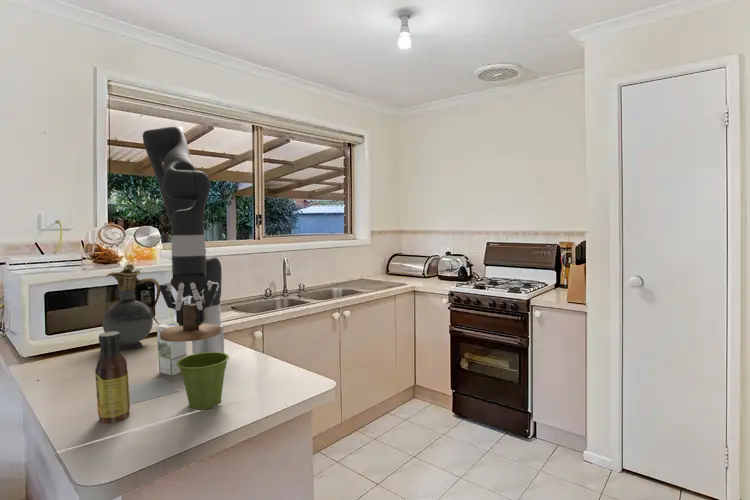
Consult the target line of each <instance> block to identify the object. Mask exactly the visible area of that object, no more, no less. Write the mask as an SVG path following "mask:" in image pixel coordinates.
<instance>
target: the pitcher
mask: <svg viewBox="0 0 750 500" xmlns="http://www.w3.org/2000/svg"><path fill="white" fill-rule="evenodd" d="M135 268H136V267H135V265H134V264H130V263H129V264H127V265H125V266H123V267H121V269H123V270H121V271H118V272H116V271H115V272H109V273H108V274H106V275H105V277H109V276H110V277H113V278H114V279H115V280H116V281H117V289H118V296H119V301H118V302H116V303H114V304H112V305H111V306H110V307H108V309H107V310H106V312H105V313H104V316H103V319H102V328H103V333H106V332H112V331H117V332H120V339H119V343H120V351H128V350H134V349H139V348H140V347H142V346H143V343H142V342H141V341H143V340H144V339H146V338H147V337H148V336H149V334H150V333H151V331H152V329H153V323H154V321H155V322H156V324H158V325H157V326H160V324H159V322H158V319H156V317H155V315H154V311H155V307H156V305H157V303H158V302H159V301H158V300H159V298H160V295H161V290H160V288H159V286H160V285H161V284H160V282H159V281H158V279H156V278H154V277H145V278H142V279H139V278H137V276H138V275H139V274H140V273H141V271H142V268H141V269H135ZM134 269H135V270H134ZM145 283H153V284H155V286H156V298H155V300H154V302H153V304H152V306H151V309H150V308H149V307H148V306H147V305H146V304H145V303H144V302H142V301H139V300H136V291H135V290H136V288H137V287H138V286H139V285H144V284H145Z"/></svg>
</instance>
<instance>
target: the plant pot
mask: <svg viewBox="0 0 750 500" xmlns="http://www.w3.org/2000/svg"><path fill="white" fill-rule="evenodd" d="M229 359H230V355H229V354H227V353H225V352H224V353H221V352H205V353H197V354H193V353H192V354H189V355H187V356H186V357H183V358H181V359H180V360H178V361H177V366H178V367H179V368H180V375H181V376H182V379H183V384H184V388H185V392H186V393H185V394H186V398H187V401H188V406H189V407H190V408H192V409H196V410H198V411H201V410H208V409H211V408H213V407H215V406H218V405H219V404H220V403H221V402H222V395H223V389H224V388H223V387H224V379H225V371H226V367H227V361H228V360H229Z"/></svg>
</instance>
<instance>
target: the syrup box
mask: <svg viewBox="0 0 750 500" xmlns="http://www.w3.org/2000/svg"><path fill="white" fill-rule="evenodd" d="M175 326H179V324H177V322H167V323H163V324H159V325H157V326H156V331H157V332H156V334H157V351H158V369H159V370H158V371H159V373H160V374H162V375H163V374H165V375H169V376H174V375H177V374H181V372H180V368H179V367H178V366H177V361H178V360H180V359H181V358H183V357H186V356H188V353H187V351H188V350H187V341H184V342H171V341H164V340H161V339H160V332H161V331H162V330H164V329H167V328H170V327H175Z"/></svg>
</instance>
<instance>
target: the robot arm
mask: <svg viewBox="0 0 750 500" xmlns="http://www.w3.org/2000/svg"><path fill="white" fill-rule="evenodd" d="M142 141H143V145H144V149H145V151H146V154H147V157H148V159H149V162H150V164H151V167H152V170H153V172H154V174H155V178H156V181H157V183H158V186H159V189H160V193H161V196H162V200H163V204H164V208H165V211H166V214H167V217H168V220H169V224H170V226H171V230H172V231H171V234H172V236H171V245H170V246H171V268H172V272H171V273H172V278H171V280H170V282H167V283H163V284H160V286H159V288H160V294H161V295H162V297H163V300H164V302H165V304H166V306H167V308H168V309H173V310H175V313H176V314H175V316H176V323H177V324H179V326H183V316H182V305H185V304H186V300H187V299H188V298H187V297H188V296H189V297H190V304H197V308H198V310H197V325H202V324H216V325H219V326H220V327H221V333H220V334H219V335H217V336H214V337H211V338H207V339H202V340H195V341H191V346H192V347H191V348H192V351H191V352H192V355H193V354H197V353H205V352H221V353H225V338H224V337H225V336H224V325H222V321H221V320H222V319H221V318H222V317H221V315H222V314H221V296H222V271H223V270H222V265H221V260H220V259H219V258H218V257H216V256H207V255H206V254H207V248H206V240H205V227H204V225H205V223H204V222H205V221H204V219H205V218H204V216H205V209H206V205H207V202H208V198H209V196H210V195H209V194H210V190H211V180H210V177H209V176H208V174H207V173H205V172H204V171H200V170H196V168H195V166H194V164H193V162H192V160H191V155H190V154H191V153H190V149H189V145H188V142H187V141H188V140H187V138H186V136H185V134H184V131H183V130H182V129H181V128H179V127H177V126H167V127H160V128H154V129H148V130H144V131H143V133H142ZM173 288H174V289H175V291H176V292H177V295H176V299H175V297H174V295H173V293H172V290H173Z"/></svg>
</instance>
